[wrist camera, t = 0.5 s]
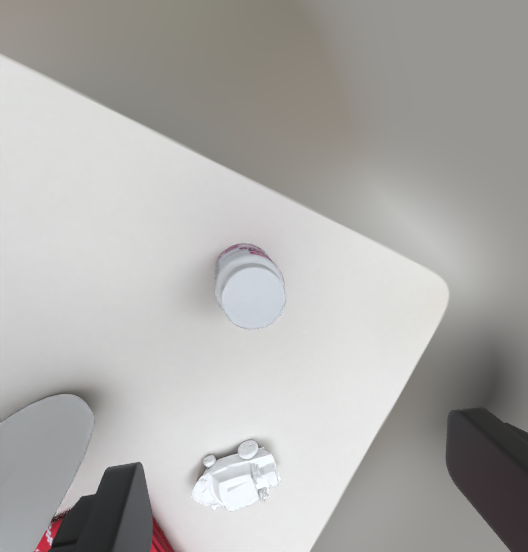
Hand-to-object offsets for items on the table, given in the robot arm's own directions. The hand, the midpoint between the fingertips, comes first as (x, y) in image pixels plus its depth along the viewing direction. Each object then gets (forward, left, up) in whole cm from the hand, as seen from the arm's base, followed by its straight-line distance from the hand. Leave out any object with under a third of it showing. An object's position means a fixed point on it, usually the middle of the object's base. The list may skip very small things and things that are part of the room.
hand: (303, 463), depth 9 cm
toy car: (+17, +7, -21) cm, 29 cm away
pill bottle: (-1, 0, -21) cm, 21 cm away
